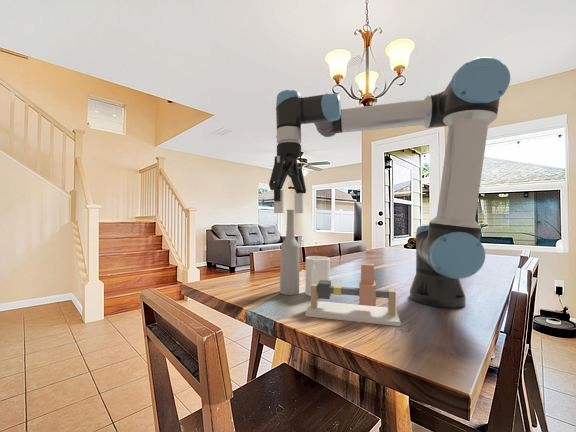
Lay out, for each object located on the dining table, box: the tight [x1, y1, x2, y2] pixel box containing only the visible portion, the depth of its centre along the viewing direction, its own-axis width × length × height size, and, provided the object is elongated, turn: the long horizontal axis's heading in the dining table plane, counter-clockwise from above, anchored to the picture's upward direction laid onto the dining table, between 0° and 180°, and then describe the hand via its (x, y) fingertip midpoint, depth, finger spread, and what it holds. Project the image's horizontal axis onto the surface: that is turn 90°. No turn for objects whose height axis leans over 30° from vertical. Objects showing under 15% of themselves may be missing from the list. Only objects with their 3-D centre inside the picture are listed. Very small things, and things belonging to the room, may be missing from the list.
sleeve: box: [358, 263, 377, 306], centre depth 71 cm, size 4×5×10 cm
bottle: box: [279, 209, 300, 296], centre depth 91 cm, size 7×7×28 cm
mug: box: [304, 255, 331, 297], centre depth 89 cm, size 12×8×12 cm
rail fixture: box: [304, 280, 402, 327], centre depth 72 cm, size 23×10×8 cm, turn 75°
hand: (289, 213), depth 83 cm, fingers open, 13 cm apart
